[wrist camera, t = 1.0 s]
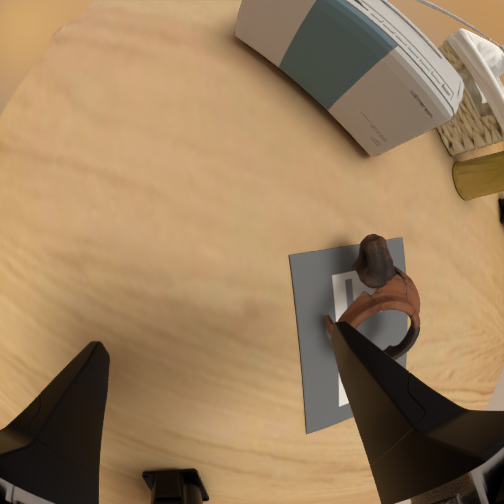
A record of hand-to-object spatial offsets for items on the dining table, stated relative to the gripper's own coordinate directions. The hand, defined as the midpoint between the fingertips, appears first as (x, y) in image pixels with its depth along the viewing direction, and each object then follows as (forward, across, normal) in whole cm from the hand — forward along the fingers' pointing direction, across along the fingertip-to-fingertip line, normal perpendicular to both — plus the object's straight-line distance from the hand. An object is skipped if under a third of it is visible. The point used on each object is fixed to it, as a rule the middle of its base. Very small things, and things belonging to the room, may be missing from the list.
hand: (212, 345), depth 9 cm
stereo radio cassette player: (+25, -12, -11) cm, 30 cm away
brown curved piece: (+13, -13, +10) cm, 21 cm away
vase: (+23, -36, +1) cm, 43 cm away
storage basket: (+31, -40, -10) cm, 52 cm away
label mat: (+10, -13, +14) cm, 22 cm away
